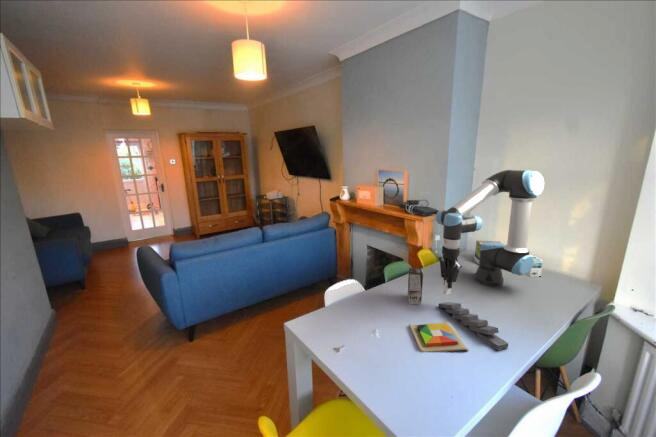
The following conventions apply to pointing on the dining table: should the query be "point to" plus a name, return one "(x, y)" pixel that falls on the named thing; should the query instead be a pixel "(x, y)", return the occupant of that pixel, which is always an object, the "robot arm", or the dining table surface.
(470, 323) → the domino
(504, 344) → the domino
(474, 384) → the dining table surface
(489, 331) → the domino
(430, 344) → the wooden puzzle
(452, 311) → the domino
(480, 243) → the tea box
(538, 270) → the light bulb box
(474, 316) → the domino
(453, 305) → the domino
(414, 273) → the coffee box
